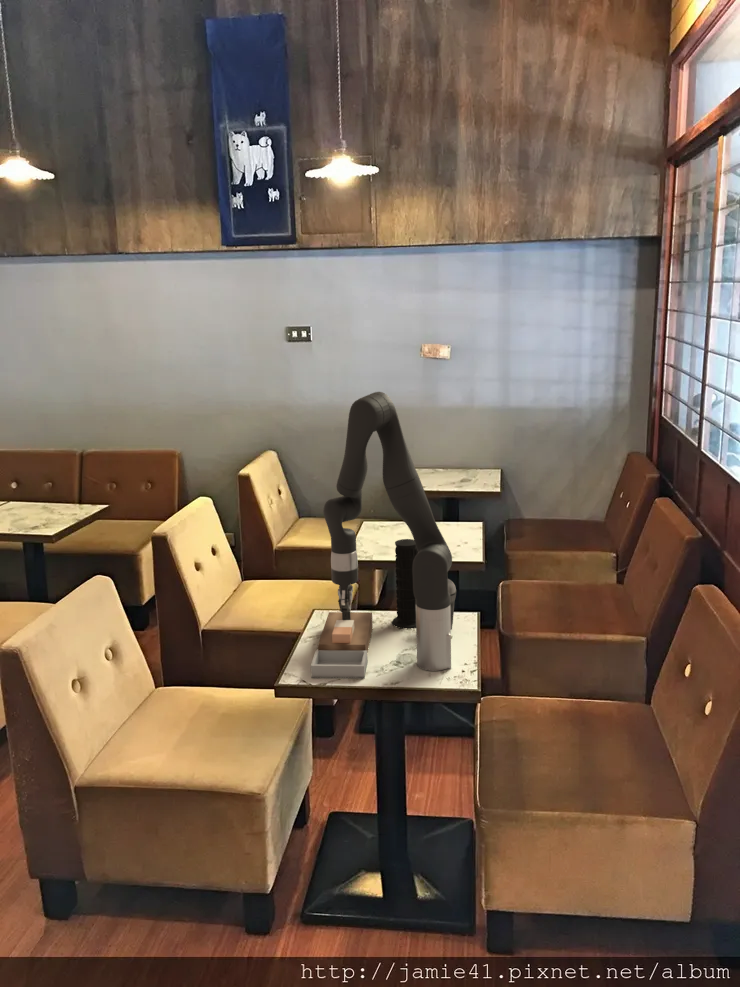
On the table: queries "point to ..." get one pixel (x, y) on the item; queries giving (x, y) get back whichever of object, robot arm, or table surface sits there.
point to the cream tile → (345, 623)
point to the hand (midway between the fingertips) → (346, 622)
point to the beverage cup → (452, 598)
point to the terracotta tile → (342, 635)
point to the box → (339, 664)
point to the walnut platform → (360, 632)
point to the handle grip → (405, 584)
